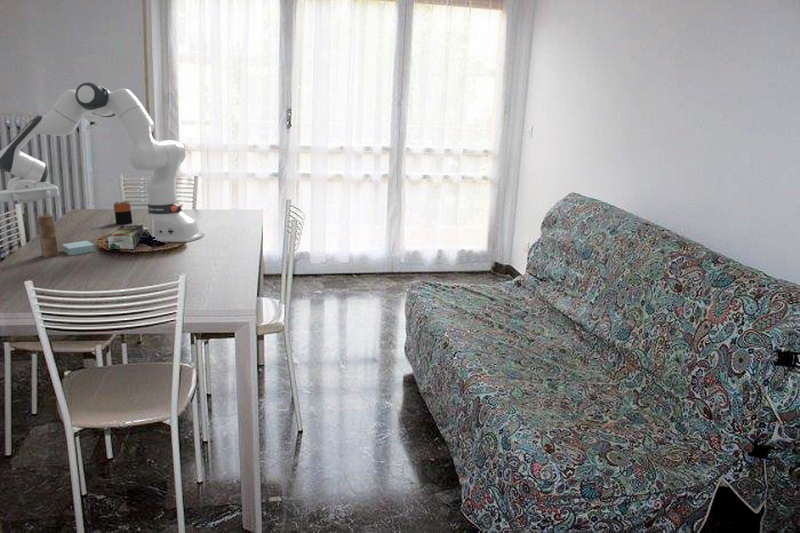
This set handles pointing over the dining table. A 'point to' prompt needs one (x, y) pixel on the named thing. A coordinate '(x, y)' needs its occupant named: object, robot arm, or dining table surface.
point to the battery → (122, 213)
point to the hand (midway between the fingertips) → (33, 196)
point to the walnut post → (47, 235)
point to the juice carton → (126, 237)
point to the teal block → (78, 247)
